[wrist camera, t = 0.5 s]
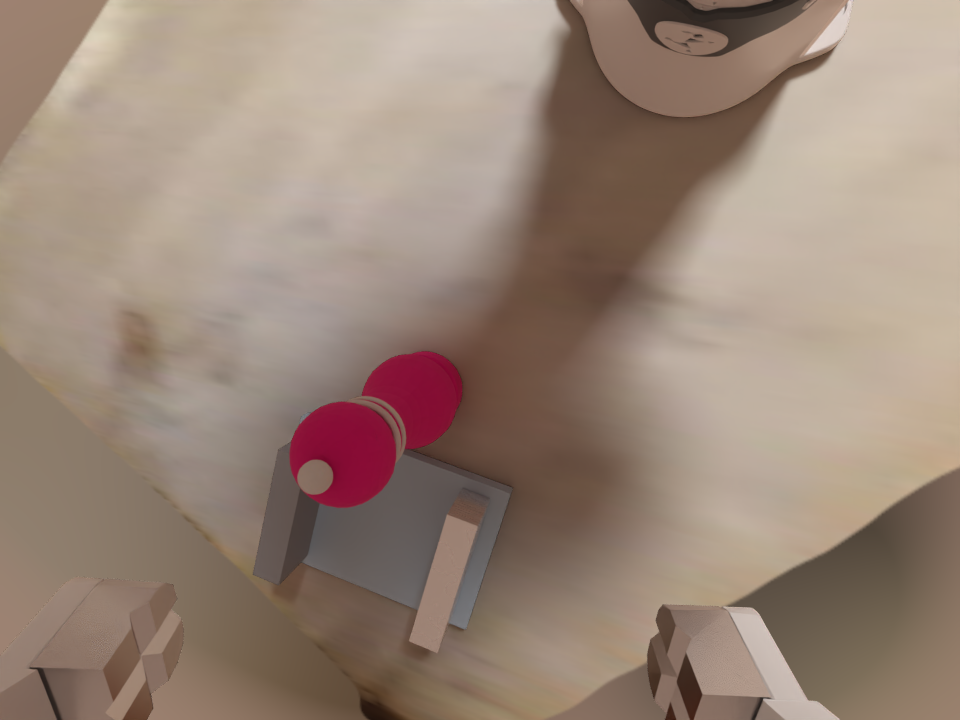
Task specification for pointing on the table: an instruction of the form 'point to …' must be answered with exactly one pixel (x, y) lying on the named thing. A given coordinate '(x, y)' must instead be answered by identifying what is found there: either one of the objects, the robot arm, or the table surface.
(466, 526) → the sliding jaw
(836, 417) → the table surface
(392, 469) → the pepper mill
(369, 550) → the vise
